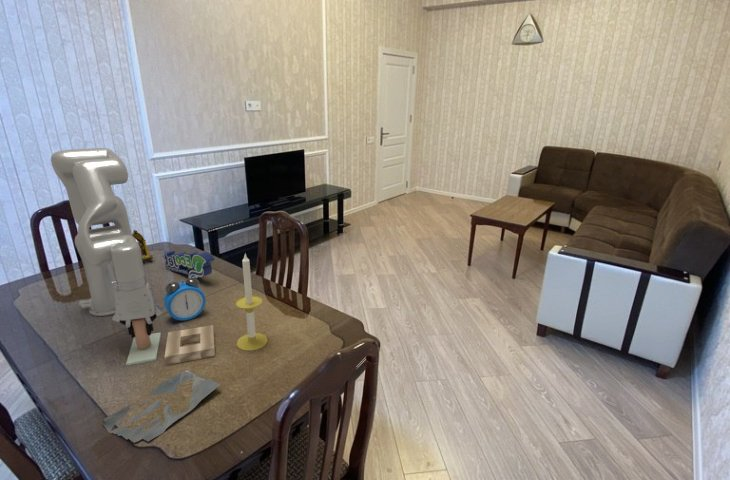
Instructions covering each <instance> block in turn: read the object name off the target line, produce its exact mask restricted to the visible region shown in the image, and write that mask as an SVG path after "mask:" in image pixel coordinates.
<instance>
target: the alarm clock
mask: <svg viewBox="0 0 730 480" xmlns="http://www.w3.org/2000/svg"><path fill="white" fill-rule="evenodd" d="M165 292H166V293H165V294H164V297H163V305H164V308H165V309H166V310H167V312H168V314H169V315H170V316H171V317H172V318H173V319H175V320H177V321H178V323H180V322H181V321H189V320H192V319H194V318H196V317H200V314H201V313H202V311H204V308H205V306H206V300H207V299H206V295H205V293H204V291H203V290H201V288H200V281H199V279H198V278H188V277H187V278H186V279H185V281H181V282H177V281H171V282H169V283H168V284H167V285H166V286H165Z"/></svg>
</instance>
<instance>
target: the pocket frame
mask: <svg viewBox="0 0 730 480" xmlns="http://www.w3.org/2000/svg"><path fill="white" fill-rule="evenodd" d="M197 342H199V343H197ZM192 343H195V344H192ZM185 344H188V345H185ZM215 350H216V349H215V332H214V325H213V324H210V325H206V326H199V327H192V328H188V329H187V328H186V329H181V330H174V331H168V332H167V338H166V344H165V353H164V362H165V366H169V365H174V364H181V363H185V362H190V361H196V360H201V359H207V358H213V357H215V356H216V355H215V354H216V353H215Z"/></svg>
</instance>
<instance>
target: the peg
mask: <svg viewBox="0 0 730 480" xmlns="http://www.w3.org/2000/svg"><path fill="white" fill-rule="evenodd" d="M131 321H132V326H133V330H134V335H135V340H136V345H137V348H138V349H145V348H148V347H149V346H150V345H151V341H150V336H149V335H148V333H147V328H146V324H147V321H146V318H140V319H133V320H131Z"/></svg>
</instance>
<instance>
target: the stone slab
mask: <svg viewBox="0 0 730 480" xmlns="http://www.w3.org/2000/svg"><path fill="white" fill-rule="evenodd" d="M191 380H193V383H192V386H191V389H192V393H191V396H190V397H191V398H190V399H189V401H188V402H189V407H188V409H187V410H185V411H184V412H181V413H178V414H177V413H172V412H171V402H169V403H167V404H166V406H165V407H163V416H164V422H163V421H161V419H162V415H159V416H158V417H156V418H154V419H152V420H151V421H149V423H148V424H145V425H142V426H138V427H135V428H134V429H133V428H132V429H129V428H128V427H125V426H127V424H129V423H132V422H133V421H137V420H139V419H140V418H141V417H144V416H146V415H148V414H151V413H154V411H156V410H157V409H158V408H159V407H160V406H161V405H160V404H161V403H162V400H163V398H159V399H158V400H156V401H155V402H153V403H151V404H149V405H148V406H147V408H146V409H145V410H143V412H141V413H138V414H134V415H132V416H131V418H129V420H127V422H126V423H123V424H122V425H121V426H118V427H117V428H115V429H113V427H114V426H116V425H117V424H119V423H120V422H122V421H123V420H124V419H125V417H126V416H127V414H128V412H129V411H130V410H131V406H133V405H135V404H137V403H138V402H134V403H131V404H129V405H126V407H124V408H122V409H119V410H117V411H115V412H113V413H112V414H110V415H109V416H106V417H105V418H104V419H103V423H102V426H103V427H104V428H105V429H106V430H107V432H108V433H110V434H114V435H117V436H118V437H120V436H121V437H123V438H124V439H125V440H130V441H131V442H132V443H138V442H140V441H141V440H144V441H146V442H150V441H152V440H153V439H155V438H157V437H158V436H161V435H163V433H165V431H166V429H168V428H169V427H170V426H171V425H173V424H174V423H175V422H176V421H178V420H179V419H181V418H182V417H184V416H185V415H187V414H188V413H190V412H192V410H194V409H195V408H196V407H197V406H198V404H199V403H200V402H201V401H202V400H204V399H205V398H207V396H208V395H209V394H211V393H212V392H213V391H215V390H216V389H217V388H218V387H220V386H221V384H220V383H218V382H216V381H215V380H212V379H210V378H204V377H203V378H202V377H199V376H198V375H195V374H194V373H193V372H192V371H191V372H190V371H189V370H187V369H186V370H184V371H182V372H181V373H177V374H175V375H173V376H172V377H170V378H168V379H166V380H164V381H162V382H161V383H160V384H159V385H157V386H156V387H155V388H153V389H152V390H151V391H150V392H148V393H147V394H146V396H149V395H151V396H154V395H161V394H162V395H163V394H167V395H168V394H169V395H170V394H174V393H176V392H177V390H178V387H179V385H181V384H182V383H184V382H188V381H191ZM149 401H150V399H149V398H148V399H146V400H145V401H144V402H143V404H145V403H148V402H149ZM151 425H154V426H151ZM150 426H151V427H150ZM124 427H125V428H124ZM149 427H150V428H149ZM145 428H147V429H145ZM144 429H145V430H144Z"/></svg>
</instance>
